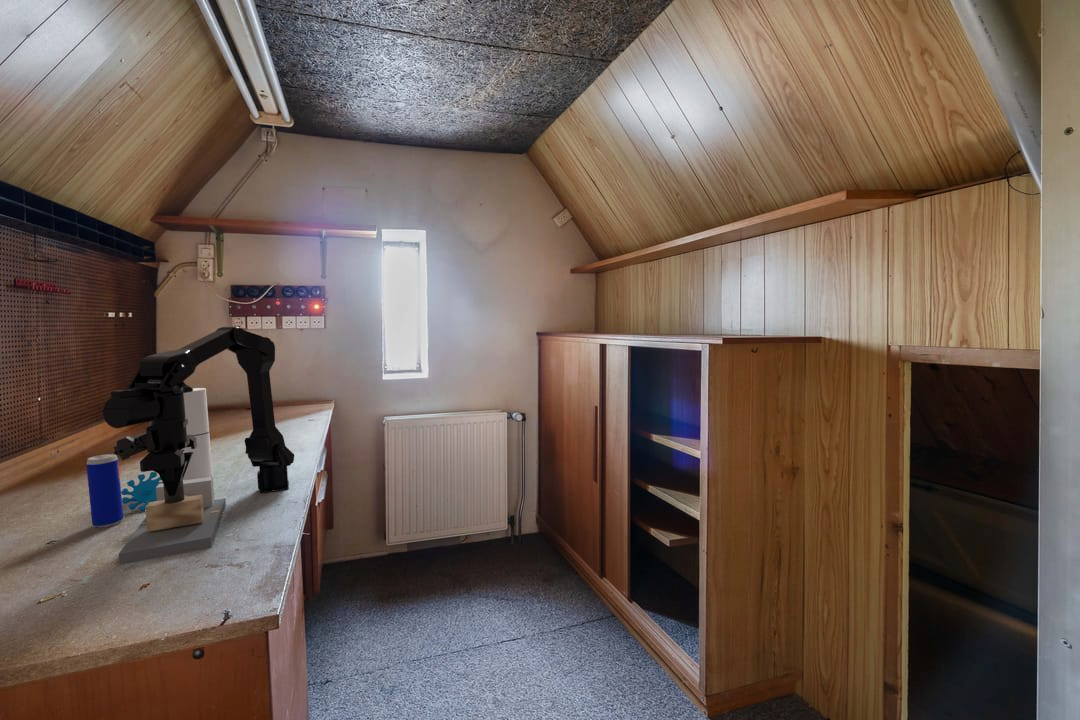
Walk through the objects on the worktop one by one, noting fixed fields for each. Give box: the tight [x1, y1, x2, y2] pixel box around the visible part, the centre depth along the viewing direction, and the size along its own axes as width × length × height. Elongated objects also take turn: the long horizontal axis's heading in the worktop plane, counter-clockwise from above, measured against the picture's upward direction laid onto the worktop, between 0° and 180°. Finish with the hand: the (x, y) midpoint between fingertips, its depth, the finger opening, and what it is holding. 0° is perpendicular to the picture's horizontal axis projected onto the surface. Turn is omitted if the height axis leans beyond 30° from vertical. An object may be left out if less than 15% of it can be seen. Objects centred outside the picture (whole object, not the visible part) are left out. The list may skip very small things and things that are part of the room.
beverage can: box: [85, 453, 124, 528], centre depth 107 cm, size 5×5×15 cm
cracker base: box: [117, 476, 227, 565], centre depth 103 cm, size 14×24×8 cm, turn 27°
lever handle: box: [145, 475, 204, 532], centre depth 100 cm, size 9×3×11 cm, turn 117°
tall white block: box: [183, 387, 213, 480], centre depth 139 cm, size 7×7×25 cm
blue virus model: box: [121, 471, 163, 512], centre depth 119 cm, size 11×6×10 cm
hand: (174, 493), depth 100 cm, fingers closed on lever handle, 3 cm apart
